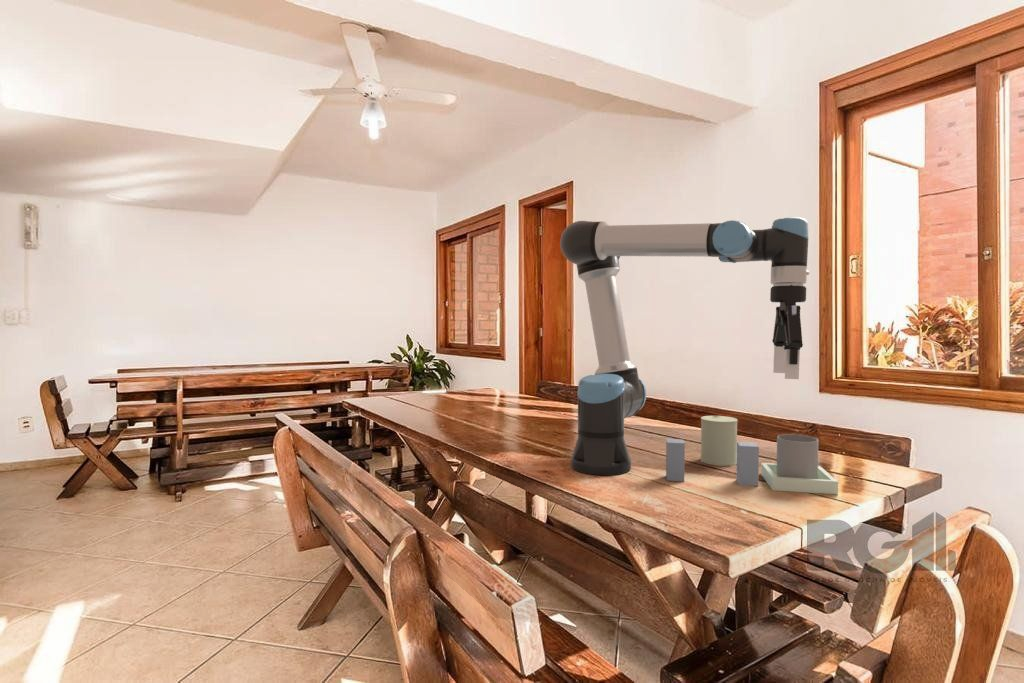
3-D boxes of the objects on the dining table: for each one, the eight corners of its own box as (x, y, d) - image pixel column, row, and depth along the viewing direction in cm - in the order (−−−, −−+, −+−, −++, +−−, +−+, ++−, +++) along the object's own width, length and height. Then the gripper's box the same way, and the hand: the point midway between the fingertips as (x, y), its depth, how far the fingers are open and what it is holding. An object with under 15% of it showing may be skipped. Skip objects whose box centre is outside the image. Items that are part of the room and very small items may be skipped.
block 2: (739, 484, 126) (739, 445, 126) (736, 480, 130) (737, 442, 130) (758, 486, 125) (758, 446, 125) (754, 481, 129) (755, 442, 129)
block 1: (666, 480, 130) (666, 442, 130) (666, 475, 134) (666, 438, 134) (684, 481, 129) (684, 443, 129) (683, 476, 133) (683, 439, 133)
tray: (772, 490, 122) (772, 477, 122) (760, 474, 135) (761, 462, 135) (837, 494, 119) (838, 481, 119) (819, 477, 132) (819, 465, 132)
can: (731, 457, 151) (731, 413, 151) (742, 466, 142) (742, 420, 142) (696, 456, 152) (697, 413, 152) (705, 465, 143) (705, 419, 142)
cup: (816, 478, 129) (817, 436, 128) (819, 488, 121) (820, 443, 121) (776, 474, 132) (776, 433, 132) (776, 484, 125) (777, 440, 124)
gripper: (820, 282, 117) (816, 382, 118) (793, 288, 141) (791, 371, 142) (781, 282, 119) (778, 381, 120) (762, 288, 143) (759, 370, 144)
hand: (785, 375), depth 131 cm, fingers open, 13 cm apart
